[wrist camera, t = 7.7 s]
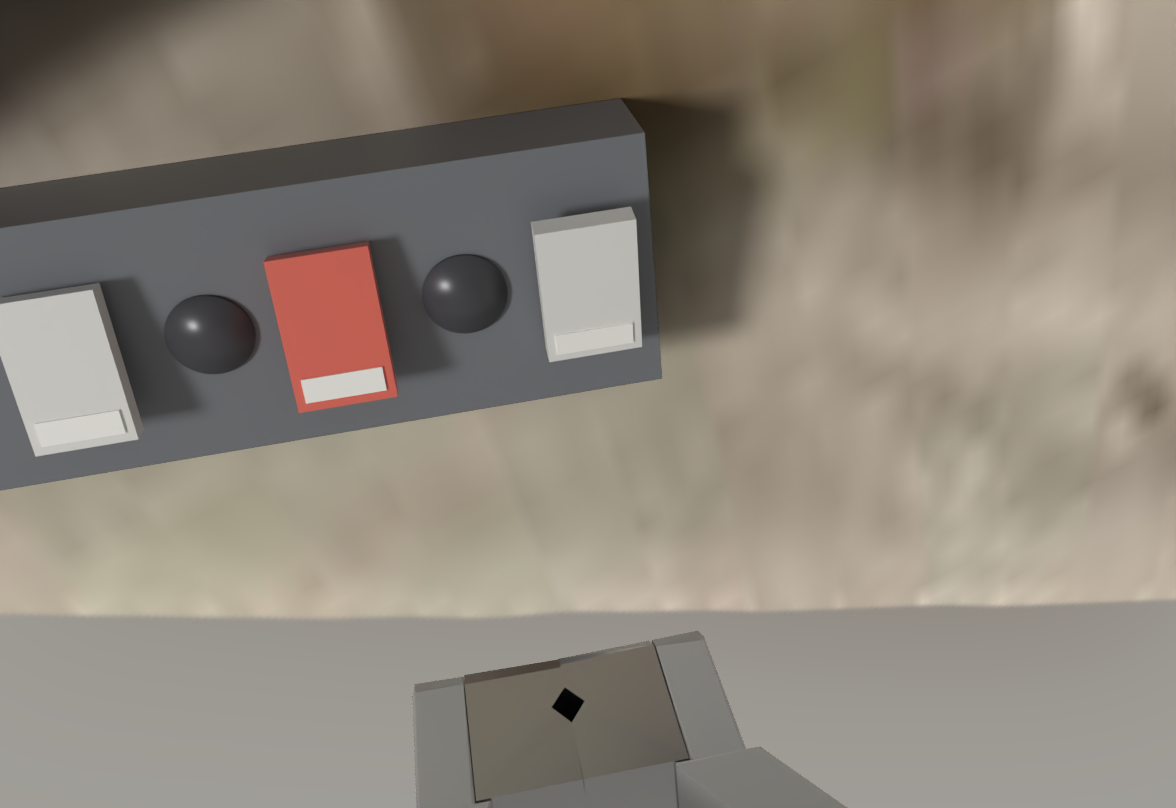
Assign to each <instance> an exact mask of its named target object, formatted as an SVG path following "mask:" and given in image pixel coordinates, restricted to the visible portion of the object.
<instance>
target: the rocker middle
mask: <svg viewBox="0 0 1176 808" xmlns="http://www.w3.org/2000/svg"><path fill="white" fill-rule="evenodd" d="M263 263H264V267H265V271H266V276H267V280H268V284H269V288H270V293H271V297H272V301H273V305H274V310H275V314H276V318H277V322H278V327H279V331H280V335H281V340H282V344H283V348H284V352H285V357H286V361H287V365H288V369H289V374H290V378H291V382H292V386H293V391H294V395H295V399H296V403H297V408H298V412H299V413H303V412H309V411H315V410H321V409H327V408H333V407H339V406H345V405H351V404H357V403H363V402H369V401H375V400H381V399H387V398H393V397H398V385H397V380H396V375H395V370H394V365H393V360H392V355H391V350H390V345H389V340H388V335H387V330H386V325H385V320H384V315H383V310H382V305H381V300H380V295H379V290H378V285H377V280H376V275H375V270H374V265H373V259H372V254H371V249H370V244H369V241H366V242H360V243H353V244H347V245H340V246H334V247H327V248H321V249H314V250H308V251H301V252H295V253H288V254H282V255H275V256H269V257H266V259H265V260H264V262H263Z"/></svg>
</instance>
